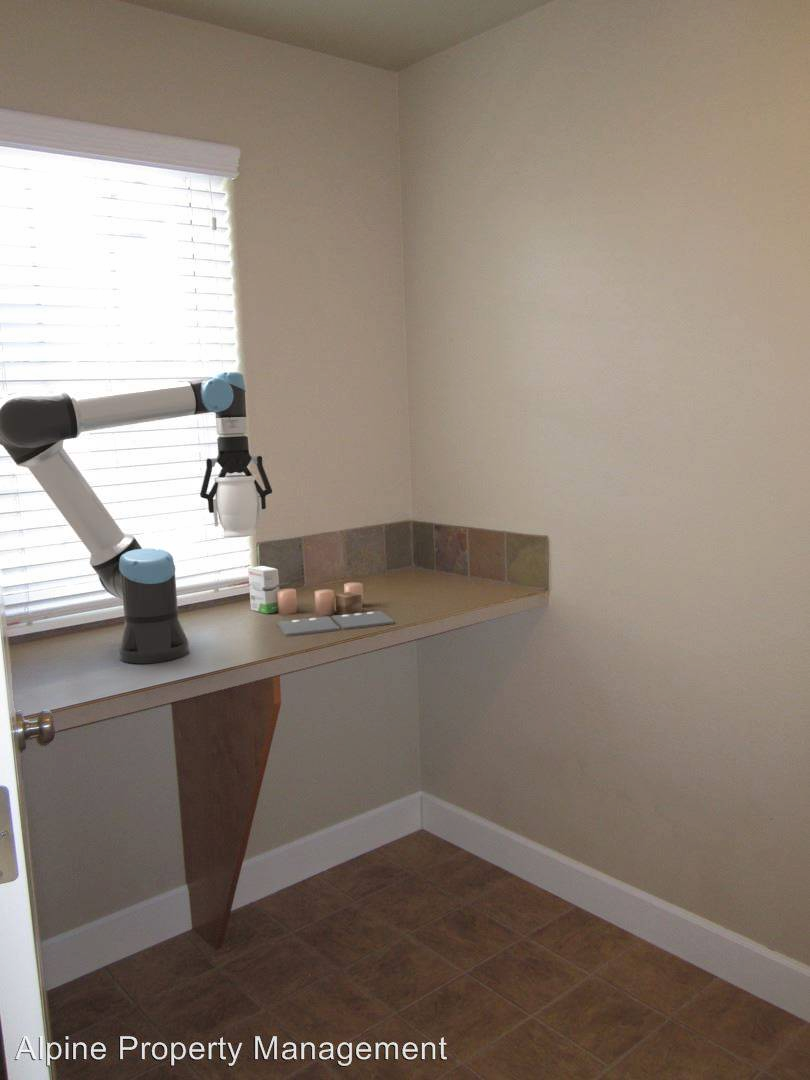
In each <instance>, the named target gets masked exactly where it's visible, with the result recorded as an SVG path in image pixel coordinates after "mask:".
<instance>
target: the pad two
mask: <svg viewBox="0 0 810 1080" xmlns="http://www.w3.org/2000/svg"><path fill="white" fill-rule="evenodd" d="M277 625H278V627H279V628H280V629H281V631H282V632H283V633H284V635H285V637H291V636H298V635H299V636H300V635H307V634H318V633H325V632H335V630H336V631H340V626H338V624H337V623H336V622H335V621H333V619H332V618H331V617H330V616H318V617H311V618H300V619H291V620H283V621H277Z"/></svg>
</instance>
